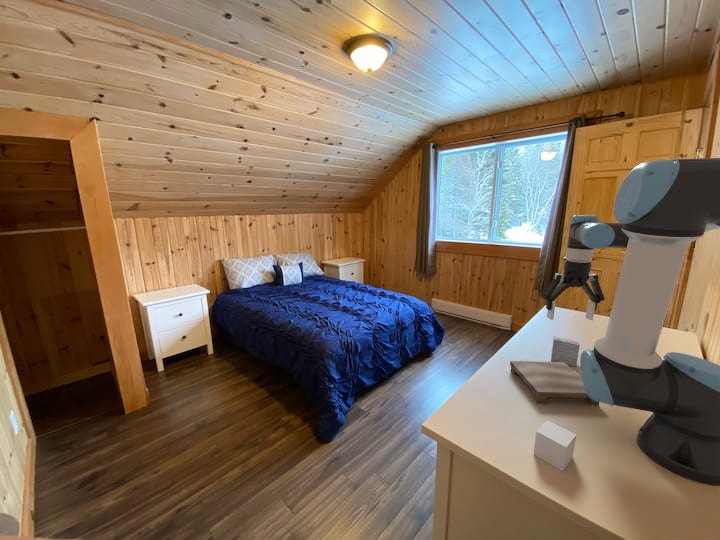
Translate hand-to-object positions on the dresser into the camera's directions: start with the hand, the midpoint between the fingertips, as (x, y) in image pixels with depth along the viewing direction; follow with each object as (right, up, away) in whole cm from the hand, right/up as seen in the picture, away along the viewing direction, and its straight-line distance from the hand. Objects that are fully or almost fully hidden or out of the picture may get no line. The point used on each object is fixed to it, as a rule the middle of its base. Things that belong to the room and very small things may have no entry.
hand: (569, 318), depth 110 cm
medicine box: (0, -17, +3) cm, 17 cm away
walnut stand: (-15, -20, -13) cm, 28 cm away
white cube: (-31, -25, -40) cm, 56 cm away
